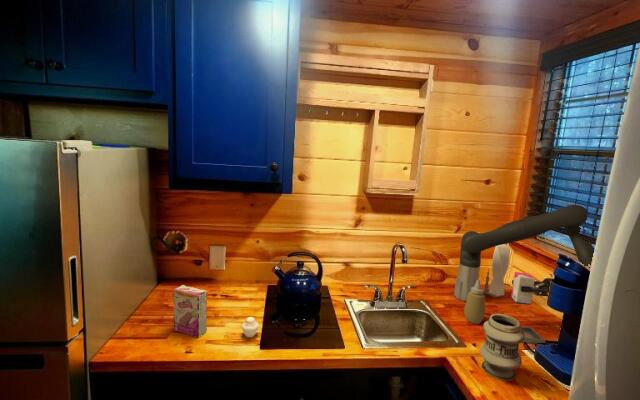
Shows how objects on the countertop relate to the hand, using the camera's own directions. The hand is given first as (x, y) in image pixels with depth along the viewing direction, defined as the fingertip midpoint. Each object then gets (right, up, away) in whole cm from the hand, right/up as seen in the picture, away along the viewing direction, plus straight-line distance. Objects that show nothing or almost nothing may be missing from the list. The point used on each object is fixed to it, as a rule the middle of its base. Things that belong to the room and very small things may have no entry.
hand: (516, 285), depth 139 cm
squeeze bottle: (-15, -17, +6) cm, 23 cm away
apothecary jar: (-22, -21, -28) cm, 42 cm away
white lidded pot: (-107, -15, -15) cm, 109 cm away
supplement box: (+2, -7, +1) cm, 7 cm away
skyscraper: (+9, -13, +35) cm, 39 cm away
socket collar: (0, -19, -5) cm, 19 cm away
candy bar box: (-129, -14, -15) cm, 130 cm away
